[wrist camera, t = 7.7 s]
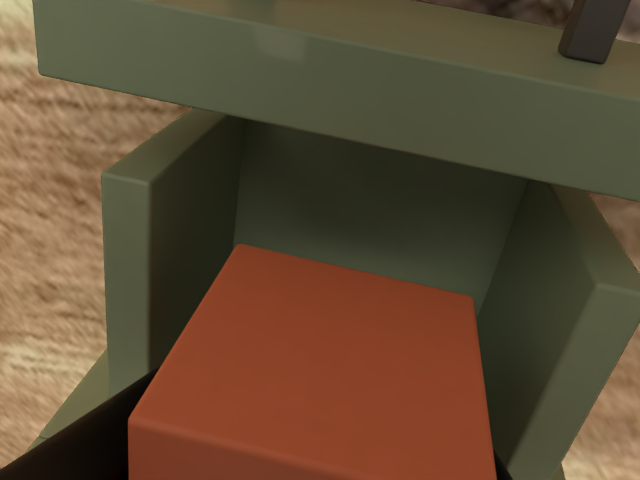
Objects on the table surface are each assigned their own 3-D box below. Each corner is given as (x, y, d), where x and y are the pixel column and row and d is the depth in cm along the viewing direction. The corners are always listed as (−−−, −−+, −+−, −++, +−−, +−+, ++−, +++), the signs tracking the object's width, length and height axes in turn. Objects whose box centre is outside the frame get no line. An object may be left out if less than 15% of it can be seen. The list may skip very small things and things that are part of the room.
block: (220, 409, 10) (127, 620, 7) (236, 240, 8) (123, 419, 5) (415, 458, 10) (410, 698, 7) (475, 293, 8) (505, 515, 5)
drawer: (218, -273, 10) (-17, -512, 5) (740, -188, 10) (1146, -354, 4) (185, 356, 18) (79, 540, 12) (477, 427, 17) (500, 654, 12)
